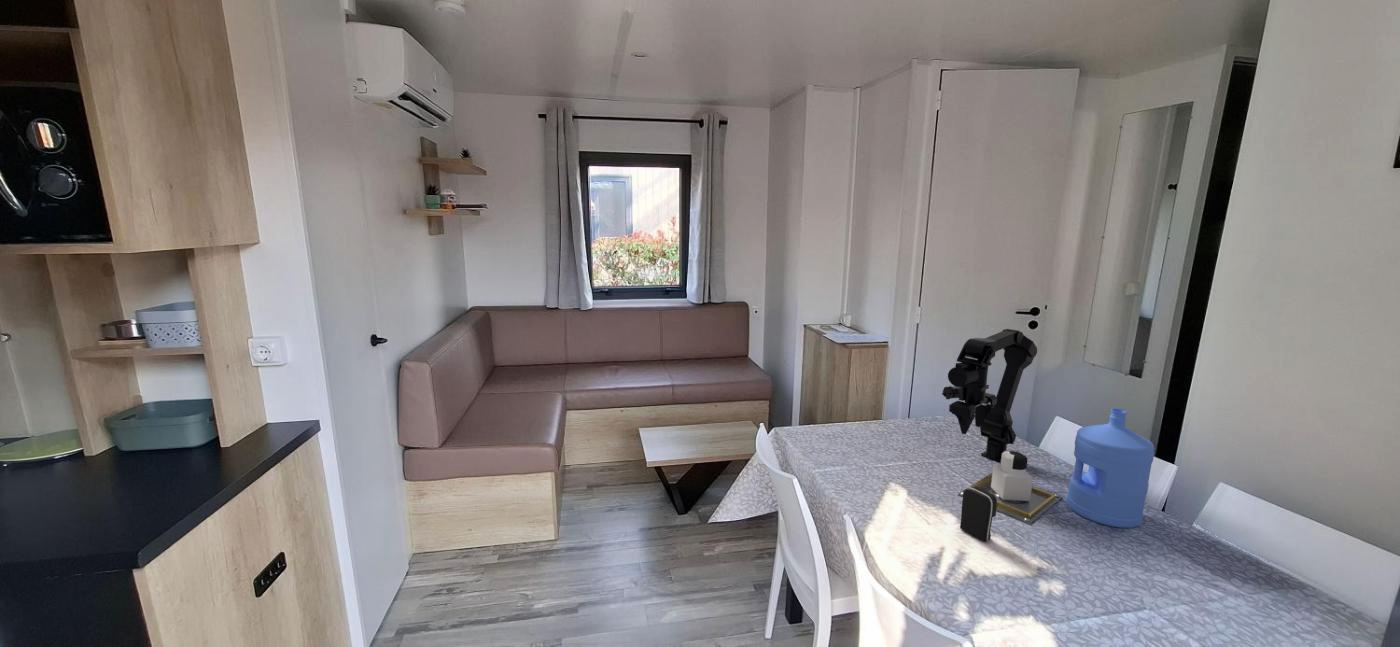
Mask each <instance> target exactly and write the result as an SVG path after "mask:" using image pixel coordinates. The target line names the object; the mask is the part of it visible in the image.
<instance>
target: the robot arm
mask: <svg viewBox="0 0 1400 647" xmlns="http://www.w3.org/2000/svg"><path fill="white" fill-rule="evenodd" d="M1002 349H1003V351H1004V352H1003V358H1004V360H1005V369H1004V371H1003V372H1004V373H1003V375H1002V377H1001V381H1000V384H999V387H998V391H997V394H996V395H995V394H993V393H988V392H986V390H988V389H990V385H989V384H987V382H988V373H989V367H990V366H992V362H991V360H992V359H993V358H995V357H996V353H997V352H999V351H1000V350H1002ZM1037 355H1038V348H1037V345H1036V344H1035V343H1034V341H1033V340H1031V339H1030V338H1029V337H1027V336H1025V334H1024V332H1023V331H1020V330H1019V329H1018V330H1016V329H1010V328H1004V329H1002V331H999V332H998V333H995V334H992V335H990V336H987V337H983V338H982V337H972V338H969V339H966V342H964V344H963V346H962V348H961V350H960V352H959V354H958V356H957V358H956V362H955V366H954V367H952V368H951V369H950V370H949V371H948V373H947V379H948V382H949V383H950V384H951V385H952V386H951V385H949V386H944V387H943V389H942V393H941V394H942V396H943V397H944V398H945V400H950V399H958V400H956V401H954V402H951V403H950V404H949V406H948V412H950V413H951V414H952V415H954V416H955V417H956V418H957V421H958V424H959V429H960V433H961V434H962V435H966V434H967V433H968V431H969V429H970V427H971V425H972V423H973V421H974V424H975V427H977V428H979V431H980V436H981V437H985V438H986V447H985V451H983V452H981V454H980V455H981V456H983V457H985V458H988V459H991V460H994V461H997V462H1000V463H1001V457H1002V453H1003V452H1005V451H1008V450H1007V449H1008V445H1014V444H1015V443H1014V442H1015V441H1016V438H1017V434H1016V432H1015V430H1014V429H1013V425H1014V424H1013V422H1014V421H1013V419H1012V415H1011V410H1012V406H1013V404H1014V400H1015V397H1016V394H1017V391H1018V388H1019V384H1020V382H1021V379H1022V375H1023V372H1024V370H1025V369H1026V368H1027V367H1029V366H1030V365H1032V363H1033V360H1034V358H1035V357H1036V356H1037Z"/></svg>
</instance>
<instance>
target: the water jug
mask: <svg viewBox="0 0 1400 647" xmlns="http://www.w3.org/2000/svg"><path fill="white" fill-rule="evenodd" d="M1127 414H1128V411H1127V410H1124V409H1120V408H1111V409H1110V415H1109V421H1108V423H1104V424H1095V425H1087V426H1081V427H1080V428H1078V429H1077V431H1076V435H1075V440H1074V450H1073V456H1074V457H1075V463H1074V469H1073V475H1072V476H1071V477H1070V478H1069V483H1068V485H1069V486H1068V490H1067V493H1066V494H1067V495H1066V503H1067V505H1068V507H1069V508H1070V509H1071V510H1072V511H1073V512H1075V513H1076V514H1078V515H1080V516H1081V517H1083V518H1085V519H1087V520H1090V521H1092V522H1095V523H1098V524H1101V525H1104V526H1107V527H1108V526H1109V527H1113V528H1114V527H1115V528H1119V529H1120V528H1121V529H1122V528H1125V529H1127V528H1129V529H1130V528H1131V529H1132V528H1135V527H1139V526H1140V525H1141V524H1142V523H1143V519H1144V509H1145V503H1146V499H1147V498H1146V497H1147V494H1148V490H1149V480H1150V475H1151V470H1152V464H1153V461H1154V457H1155V445H1154V444H1153V442H1152V441H1151V440H1149V439H1148V438H1146V437H1144V436H1142V435H1140V434H1139V433H1136V432H1135V431H1133V430H1131V429H1129V428H1128V427H1126V421H1127V417H1126V416H1127ZM1084 465H1087V466H1088V469H1087V471H1086V472H1084ZM1083 472H1084V473H1083Z"/></svg>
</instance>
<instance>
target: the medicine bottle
mask: <svg viewBox="0 0 1400 647" xmlns="http://www.w3.org/2000/svg"><path fill="white" fill-rule="evenodd" d="M1028 459H1029V458H1028V456H1026V455H1025V454H1023V453H1021V452H1018V451H1015V450H1006V451H1005V452H1003V453H1002V457H1001V462H1000V464H993V466H992V482H991V488H992V489H993V490H994V491H995V492H996V493H997V494H998V495H999V496H1000V497H1001V498H1002V499H1003V500H1014V501H1030V497H1031V489H1032V486H1033V480H1034V477H1033V476H1032V475H1031V474H1030V473H1028V471H1027V466H1028Z"/></svg>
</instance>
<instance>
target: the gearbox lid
mask: <svg viewBox="0 0 1400 647" xmlns="http://www.w3.org/2000/svg"><path fill="white" fill-rule="evenodd" d="M992 473H993V472H992ZM992 473H990V474H988V475H986V476H985V477H983V478H981V479H979V480H978V481H976V482H975V483H973V484H971V485H970V486H968V487H967V488H969V487H973V486H976V487H978V488H981V489H983V490H985V491H987V492H989V493H991V494H993V495H994V496H995V497H996V499H997V510H996V512H998V513H1000V514H1003V515H1005V516H1008V517H1010V518H1012V519H1015V520H1018V521H1020V522H1022V523H1024V524H1028V525H1031V524H1033V523H1034V522H1035V521H1037V519H1039V518H1040V517H1041V516H1042V515H1043V514H1045V513H1047V511H1048V510H1050V508H1052V507H1053V506H1055V505H1056V504H1057V503H1058V502H1060V500H1062V499H1063V496H1061V495H1060V494H1057V493H1053V492H1051V491H1048V490H1045V489H1042V488H1039V487H1038V486H1034V485H1032V489H1031V497H1030V501H1014V500H1003V499H1002V498H1001V497H1000V496H999V495H998V494H997V493H996V492H995V491H994V490H993V489H992V488H991V482H992ZM964 490H965V489H963V490H961V491H960V492H958V493H957V496H959V497H961V498H963V493H964Z"/></svg>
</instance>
